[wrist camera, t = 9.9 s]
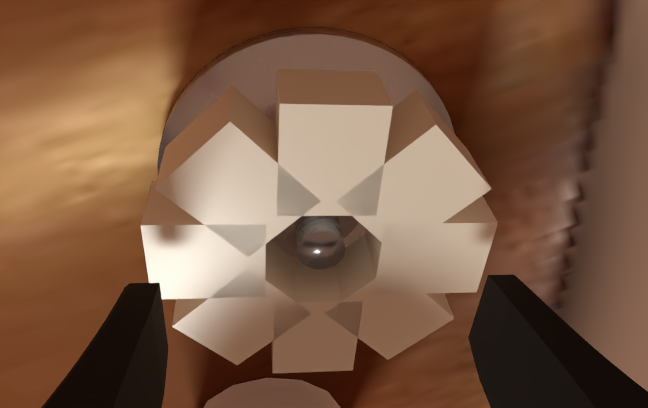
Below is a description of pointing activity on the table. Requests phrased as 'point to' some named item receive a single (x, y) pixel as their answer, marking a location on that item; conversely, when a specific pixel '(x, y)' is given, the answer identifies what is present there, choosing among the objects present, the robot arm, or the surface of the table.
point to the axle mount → (260, 88)
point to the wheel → (316, 200)
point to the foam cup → (273, 395)
